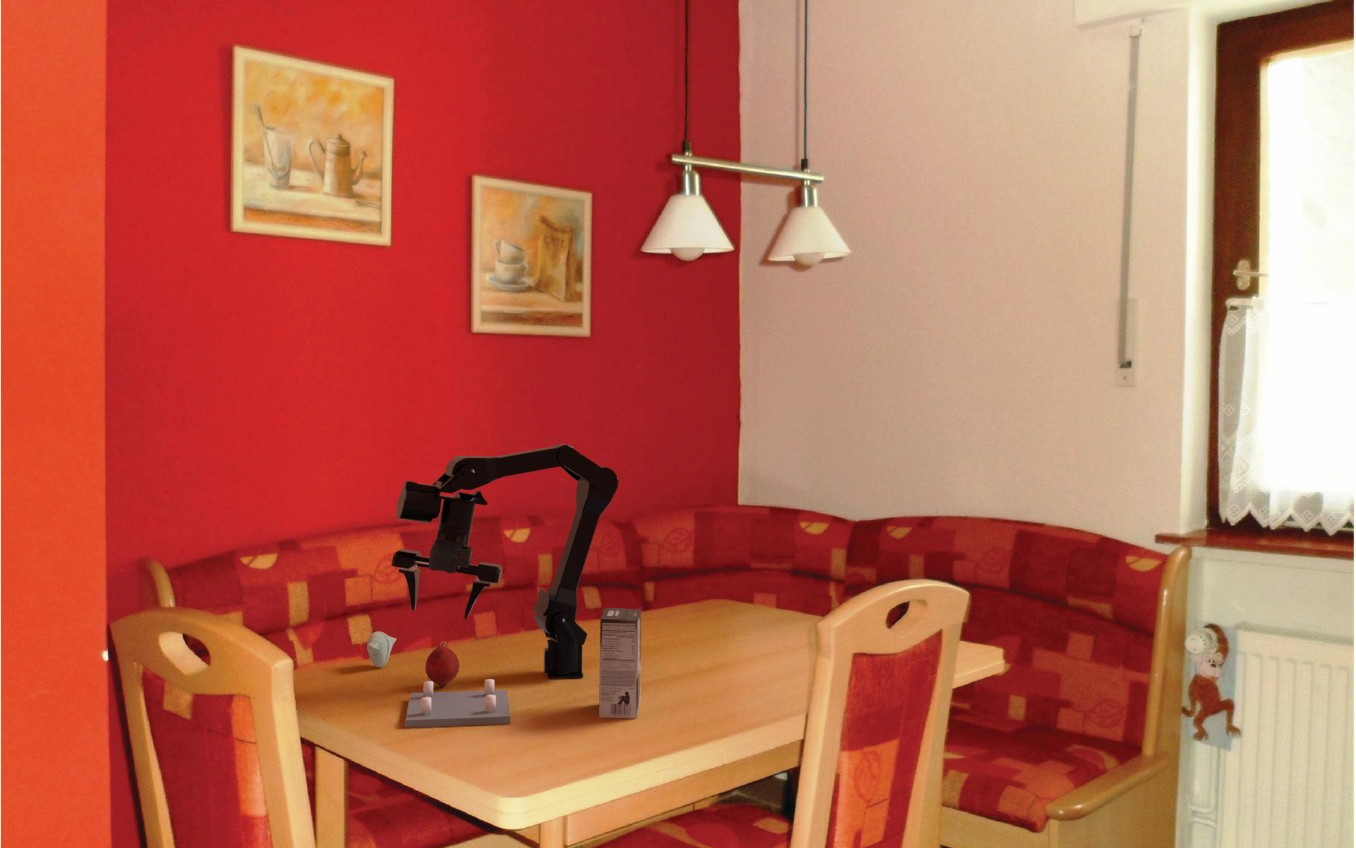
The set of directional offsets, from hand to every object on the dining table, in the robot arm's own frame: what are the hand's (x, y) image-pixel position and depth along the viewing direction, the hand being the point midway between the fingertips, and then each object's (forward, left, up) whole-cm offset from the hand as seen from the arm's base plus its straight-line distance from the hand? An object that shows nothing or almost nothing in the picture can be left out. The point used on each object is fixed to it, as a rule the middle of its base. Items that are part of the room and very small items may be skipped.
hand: (439, 614), depth 198 cm
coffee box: (-30, +20, -13) cm, 38 cm away
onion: (-1, +1, -13) cm, 13 cm away
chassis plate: (-4, +17, -13) cm, 21 cm away
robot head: (+11, -15, -13) cm, 23 cm away
